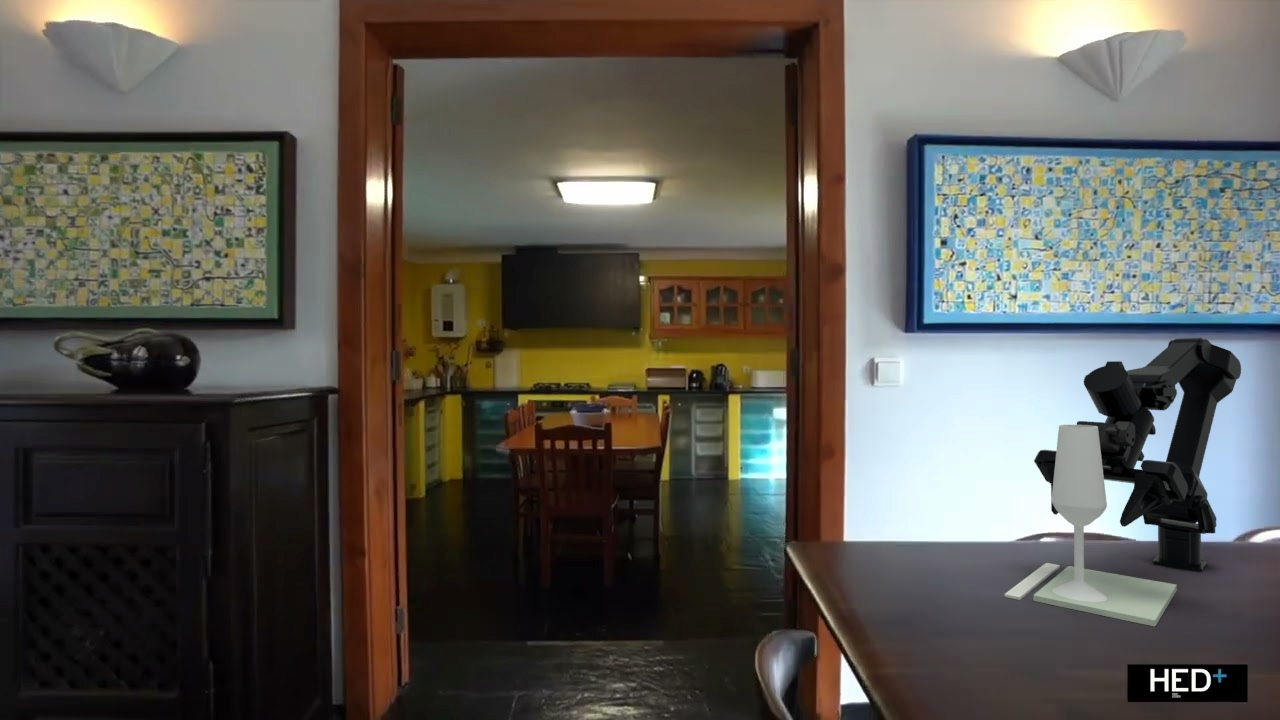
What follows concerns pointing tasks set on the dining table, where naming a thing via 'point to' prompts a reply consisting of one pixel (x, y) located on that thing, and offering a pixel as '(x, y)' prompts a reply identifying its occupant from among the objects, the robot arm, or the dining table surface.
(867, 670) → the dining table surface
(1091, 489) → the champagne flute
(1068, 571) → the pale green flat slabs
